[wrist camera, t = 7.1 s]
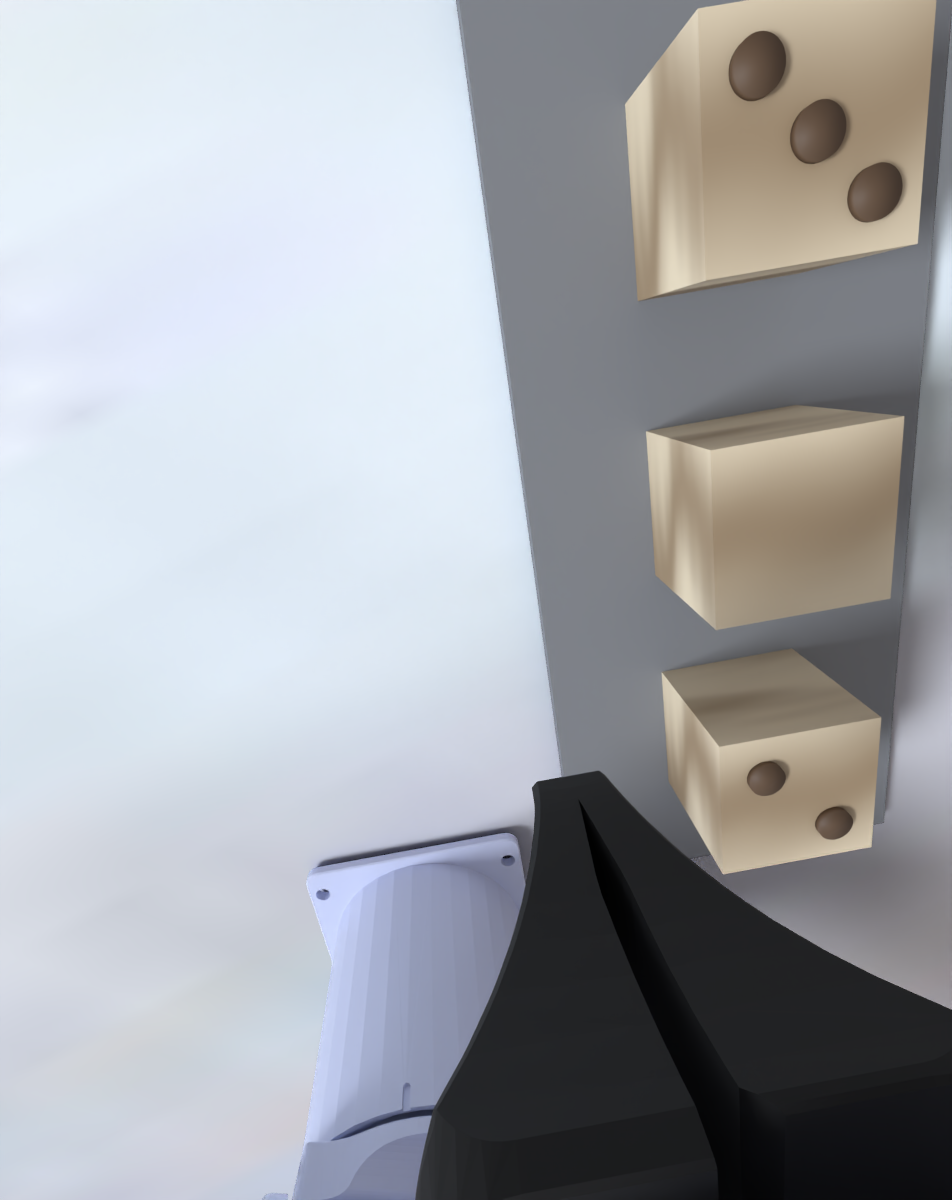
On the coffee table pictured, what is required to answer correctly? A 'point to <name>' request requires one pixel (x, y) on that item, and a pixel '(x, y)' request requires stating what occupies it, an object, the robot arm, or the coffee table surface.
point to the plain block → (776, 511)
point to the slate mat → (660, 380)
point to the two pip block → (770, 759)
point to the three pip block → (779, 141)
